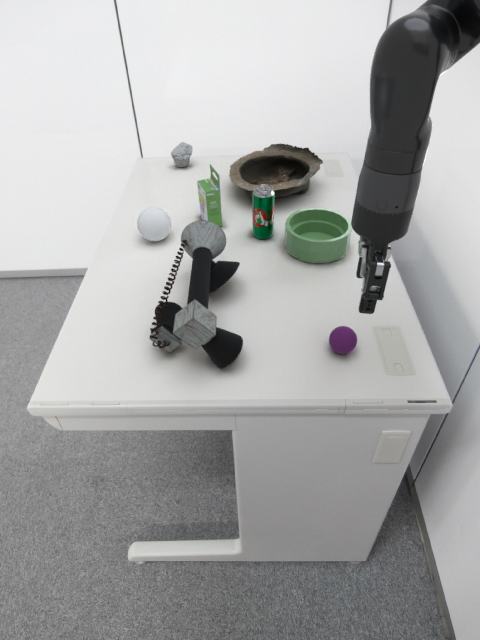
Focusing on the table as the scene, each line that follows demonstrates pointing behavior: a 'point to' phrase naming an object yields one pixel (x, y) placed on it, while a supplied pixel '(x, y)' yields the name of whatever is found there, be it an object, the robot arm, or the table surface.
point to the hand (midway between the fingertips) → (364, 293)
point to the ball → (154, 223)
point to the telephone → (198, 298)
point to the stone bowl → (276, 169)
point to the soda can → (263, 211)
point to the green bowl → (317, 235)
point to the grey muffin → (182, 154)
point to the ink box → (210, 198)
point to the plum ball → (343, 339)
